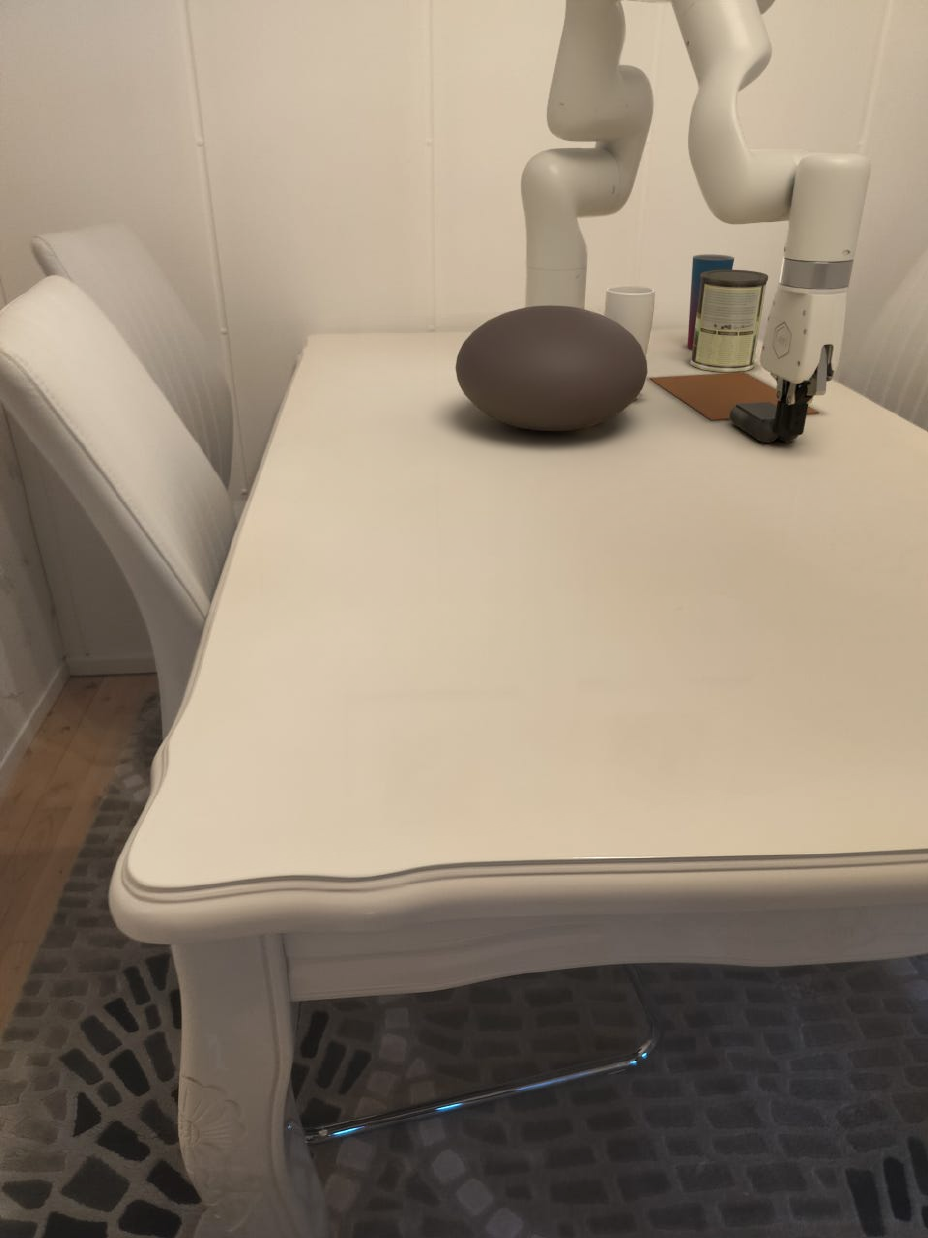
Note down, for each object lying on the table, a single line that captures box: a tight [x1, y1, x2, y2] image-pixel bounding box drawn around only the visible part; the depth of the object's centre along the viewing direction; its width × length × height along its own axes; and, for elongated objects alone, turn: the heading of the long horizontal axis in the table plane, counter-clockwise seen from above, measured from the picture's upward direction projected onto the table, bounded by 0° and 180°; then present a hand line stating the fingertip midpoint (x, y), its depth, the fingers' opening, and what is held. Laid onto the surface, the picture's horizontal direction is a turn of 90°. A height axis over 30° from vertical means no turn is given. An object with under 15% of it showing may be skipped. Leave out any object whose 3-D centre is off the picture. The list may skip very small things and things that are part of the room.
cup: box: [686, 253, 735, 351], centre depth 153 cm, size 7×7×15 cm
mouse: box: [729, 402, 800, 444], centre depth 114 cm, size 6×10×3 cm, turn 11°
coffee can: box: [690, 269, 769, 373], centre depth 143 cm, size 10×10×14 cm
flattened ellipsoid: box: [455, 305, 648, 432], centre depth 115 cm, size 25×25×15 cm
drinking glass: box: [603, 285, 656, 401], centre depth 126 cm, size 7×7×15 cm
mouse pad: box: [649, 372, 819, 421], centre depth 130 cm, size 16×22×1 cm
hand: (787, 433), depth 109 cm, fingers closed
